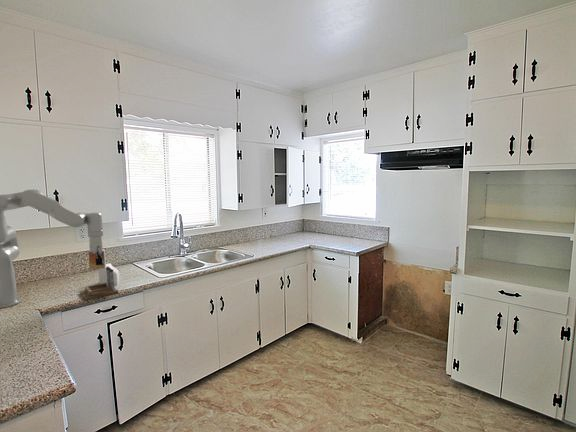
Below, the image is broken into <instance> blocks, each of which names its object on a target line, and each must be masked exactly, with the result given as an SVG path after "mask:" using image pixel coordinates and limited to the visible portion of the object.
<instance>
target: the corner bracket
mask: <svg viewBox="0 0 576 432" xmlns="http://www.w3.org/2000/svg"><path fill="white" fill-rule="evenodd" d="M106 267H110V268H111V269H113V276H114V286H117V285H119V283H120V271H119V270H118V269H117V268H116V267H114V266H113V265H112V263H106ZM106 267H105V268H102V269H98V278H99V279H98V280H99V281H98V282H99V283H98V284H101V283H107V272H106Z"/></svg>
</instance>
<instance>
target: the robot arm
mask: <svg viewBox="0 0 576 432" xmlns="http://www.w3.org/2000/svg"><path fill="white" fill-rule="evenodd" d="M25 207H29V208H33V209H35V210H37V211H39V212H42V213H43V214H46V215H48V216H49V217H51V218H52V219H55V220H56V221H58V222H60V223H62V224H65V225H67V226H70V227H72V228H81V227H83V226H85V225H86V227H87V238H89V244H88V245H89V251H92V254H96V265H102V254H101V251H102V252H103V241H102V240H103V239H102V237H103V236H104V230H103V218H102V217H103V215H102V214H101V213H100V212H90V213H86V212H76V213H75V212H73V211H71V210H69V209H67V208H65V207H64V206H62V205H61V203H60V202H59V201H57V200H55V199H53V198H50V197H49V196H46V195H44V193H43V192H42V191H40V190H39V189H26V190H24V191H22V192H21V191H20V192H16V193H10V194H9V193H8V194H0V309H1V308H2V309H3V308H7V307H12V306H15V305H17V304H20V303H21V302H22V298H21V297H18V293H17V283H16V282H17V281H16V273H15V266H14V264H13V261H14V260H16V259H17V258H18V256H19V255H20V247H19V246H20V245H19V239H18V234H17V232H16V229H15V228H14V227H12V226H10V225H8V224H7V220H6V216H5V214H4V212H5V211H11V210H15V209H20V208H25ZM96 252H98V253H96ZM97 254H98V255H97Z"/></svg>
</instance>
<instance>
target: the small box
mask: <svg viewBox="0 0 576 432" xmlns="http://www.w3.org/2000/svg"><path fill="white" fill-rule="evenodd" d="M96 253H98V252H96ZM101 254H102V265H96V254H92V251H90V250H89V251H88V266H89V267H88V268H89V270H99V269H102V268H105V267H106V264H107V262H106V261H107V259H106V249H103V252H102V251H101ZM97 255H98V254H97Z"/></svg>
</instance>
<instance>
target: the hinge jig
mask: <svg viewBox="0 0 576 432" xmlns="http://www.w3.org/2000/svg"><path fill="white" fill-rule="evenodd" d="M106 272H107V283H101V284H100V283H96V284H93V285H92V284H91V285H88V286H84V290H80V291H79V295H80V296H81V297H82V299H83V300H84V301H89V300H93V299H94V300H95V299H97V298H98V299H99V298H102V297H106V296H107V297H108V296H111V295H115V294H119V290H118V289H117V288H115V285H114V276H113V269H111V268H110V267H106Z"/></svg>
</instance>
